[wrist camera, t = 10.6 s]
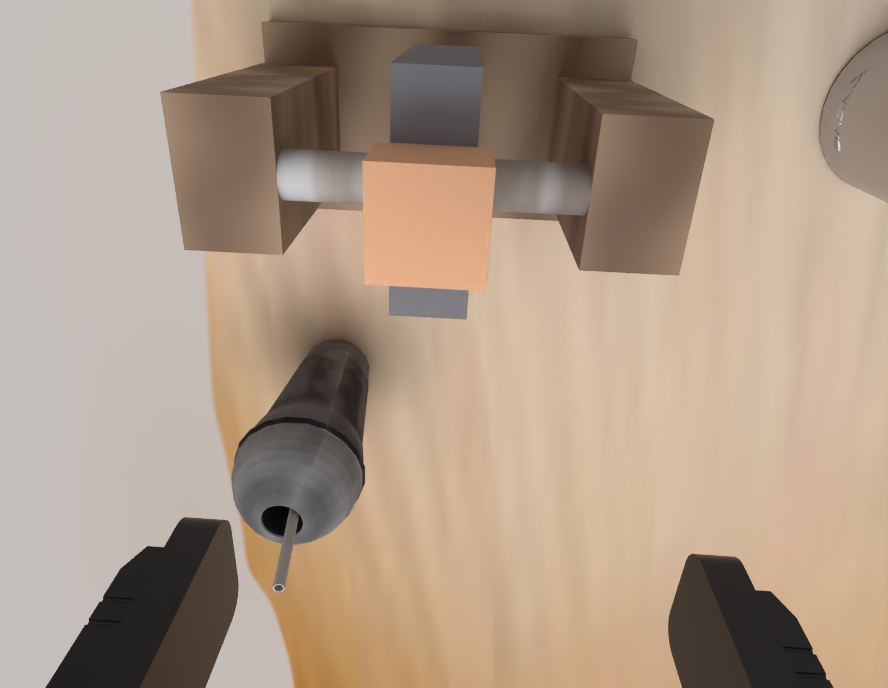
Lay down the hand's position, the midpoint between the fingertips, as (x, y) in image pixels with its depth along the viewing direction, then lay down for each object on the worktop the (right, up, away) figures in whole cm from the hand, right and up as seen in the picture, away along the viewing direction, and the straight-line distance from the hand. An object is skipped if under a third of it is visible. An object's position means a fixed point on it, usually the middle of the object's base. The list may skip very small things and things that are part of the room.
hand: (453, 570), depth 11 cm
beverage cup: (-8, +2, +35) cm, 36 cm away
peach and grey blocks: (0, +14, +21) cm, 25 cm away
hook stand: (0, +17, +27) cm, 31 cm away
